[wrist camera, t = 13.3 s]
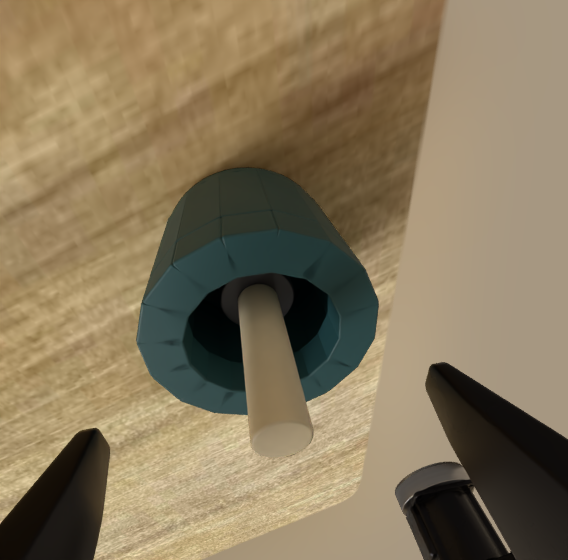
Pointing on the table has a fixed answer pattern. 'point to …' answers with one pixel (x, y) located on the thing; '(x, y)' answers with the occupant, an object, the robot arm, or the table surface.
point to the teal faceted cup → (246, 262)
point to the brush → (268, 364)
